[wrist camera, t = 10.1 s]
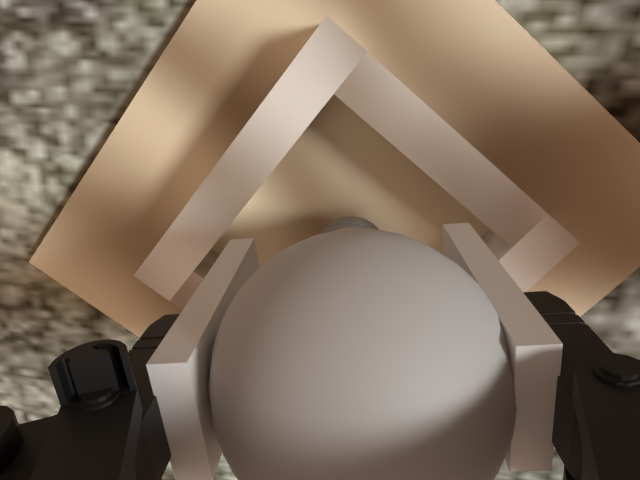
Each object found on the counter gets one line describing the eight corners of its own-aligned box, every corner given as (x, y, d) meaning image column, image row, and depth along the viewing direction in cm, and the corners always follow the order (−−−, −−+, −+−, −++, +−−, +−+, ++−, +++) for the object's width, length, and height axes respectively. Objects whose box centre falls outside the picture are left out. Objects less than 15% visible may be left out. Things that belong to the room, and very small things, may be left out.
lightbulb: (468, 251, 17) (662, 525, 7) (340, 344, 19) (343, 682, 8) (361, 121, 16) (406, 224, 6) (232, 233, 17) (77, 478, 7)
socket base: (313, -171, 14) (305, -225, 12) (695, 204, 17) (758, 229, 15) (37, 256, 19) (-11, 286, 17) (369, 483, 23) (372, 538, 20)
